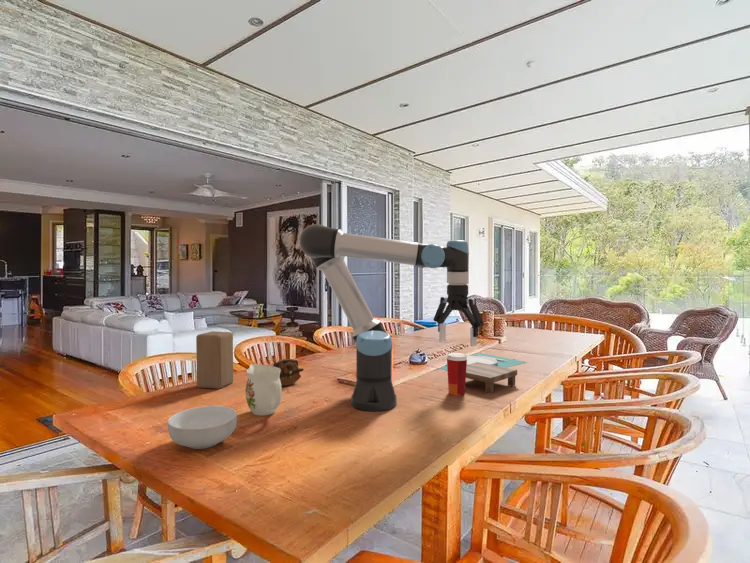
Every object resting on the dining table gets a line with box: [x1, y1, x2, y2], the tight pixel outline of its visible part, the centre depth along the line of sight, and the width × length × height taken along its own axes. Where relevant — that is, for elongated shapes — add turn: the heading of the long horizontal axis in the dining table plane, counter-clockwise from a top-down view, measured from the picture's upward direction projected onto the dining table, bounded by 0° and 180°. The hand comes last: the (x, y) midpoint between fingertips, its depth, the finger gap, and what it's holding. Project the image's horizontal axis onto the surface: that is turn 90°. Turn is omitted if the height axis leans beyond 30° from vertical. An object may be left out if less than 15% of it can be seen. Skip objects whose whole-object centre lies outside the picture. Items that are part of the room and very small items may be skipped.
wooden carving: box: [272, 358, 305, 387], centre depth 167 cm, size 16×5×10 cm, turn 143°
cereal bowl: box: [166, 405, 238, 450], centre depth 113 cm, size 17×17×7 cm
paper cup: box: [445, 352, 468, 397], centre depth 157 cm, size 8×8×14 cm
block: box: [195, 330, 234, 390], centre depth 167 cm, size 10×10×20 cm
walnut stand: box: [466, 362, 518, 395], centre depth 168 cm, size 18×18×6 cm
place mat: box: [439, 352, 526, 372], centre depth 206 cm, size 45×30×2 cm
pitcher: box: [245, 363, 283, 417], centre depth 136 cm, size 11×18×14 cm, turn 41°
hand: (457, 343), depth 156 cm, fingers open, 13 cm apart
